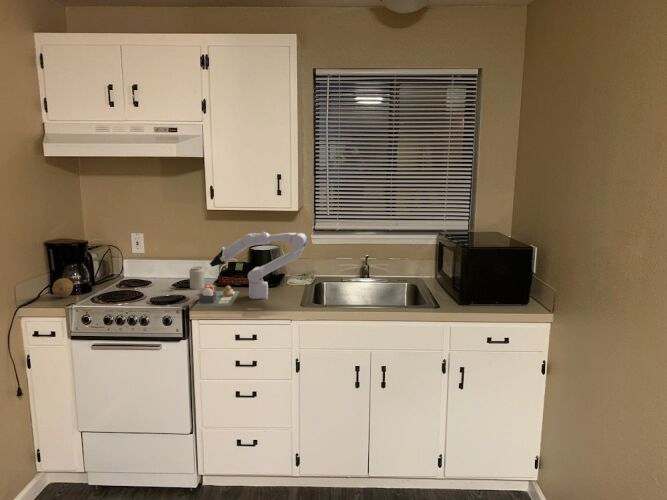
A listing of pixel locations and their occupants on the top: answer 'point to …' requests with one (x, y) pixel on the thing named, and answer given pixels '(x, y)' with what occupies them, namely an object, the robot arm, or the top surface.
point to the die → (210, 287)
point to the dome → (207, 292)
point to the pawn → (228, 292)
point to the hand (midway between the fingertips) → (213, 262)
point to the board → (216, 299)
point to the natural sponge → (62, 287)
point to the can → (196, 277)
